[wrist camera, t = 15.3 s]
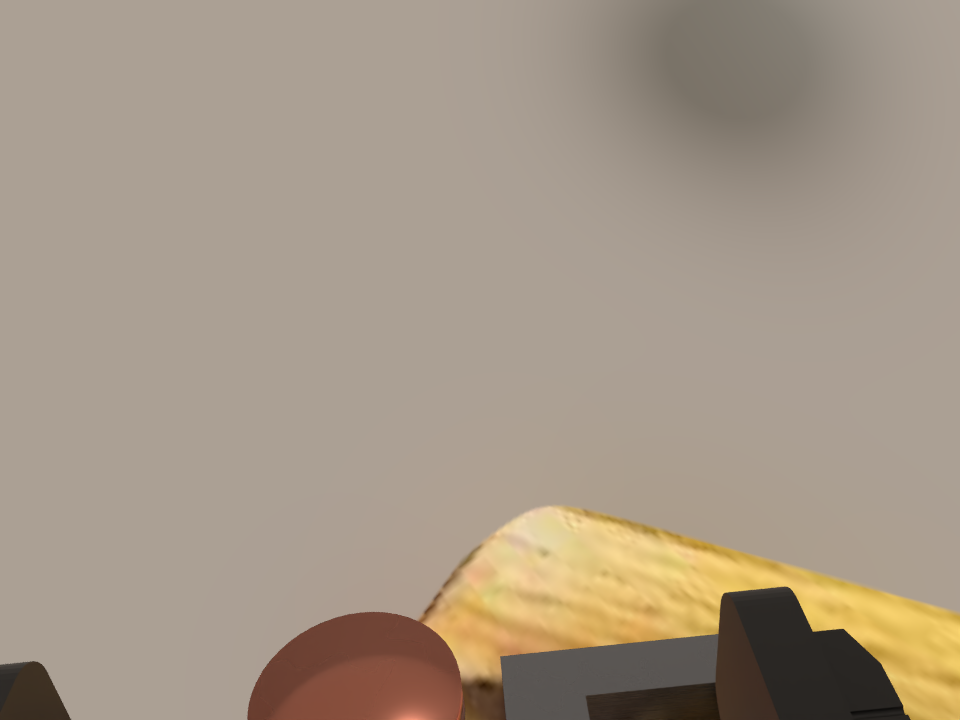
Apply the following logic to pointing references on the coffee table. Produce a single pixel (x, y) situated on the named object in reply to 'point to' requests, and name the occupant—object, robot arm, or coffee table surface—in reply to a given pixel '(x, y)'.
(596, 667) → the bore housing
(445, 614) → the coffee table surface
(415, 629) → the capped metal cylinder
